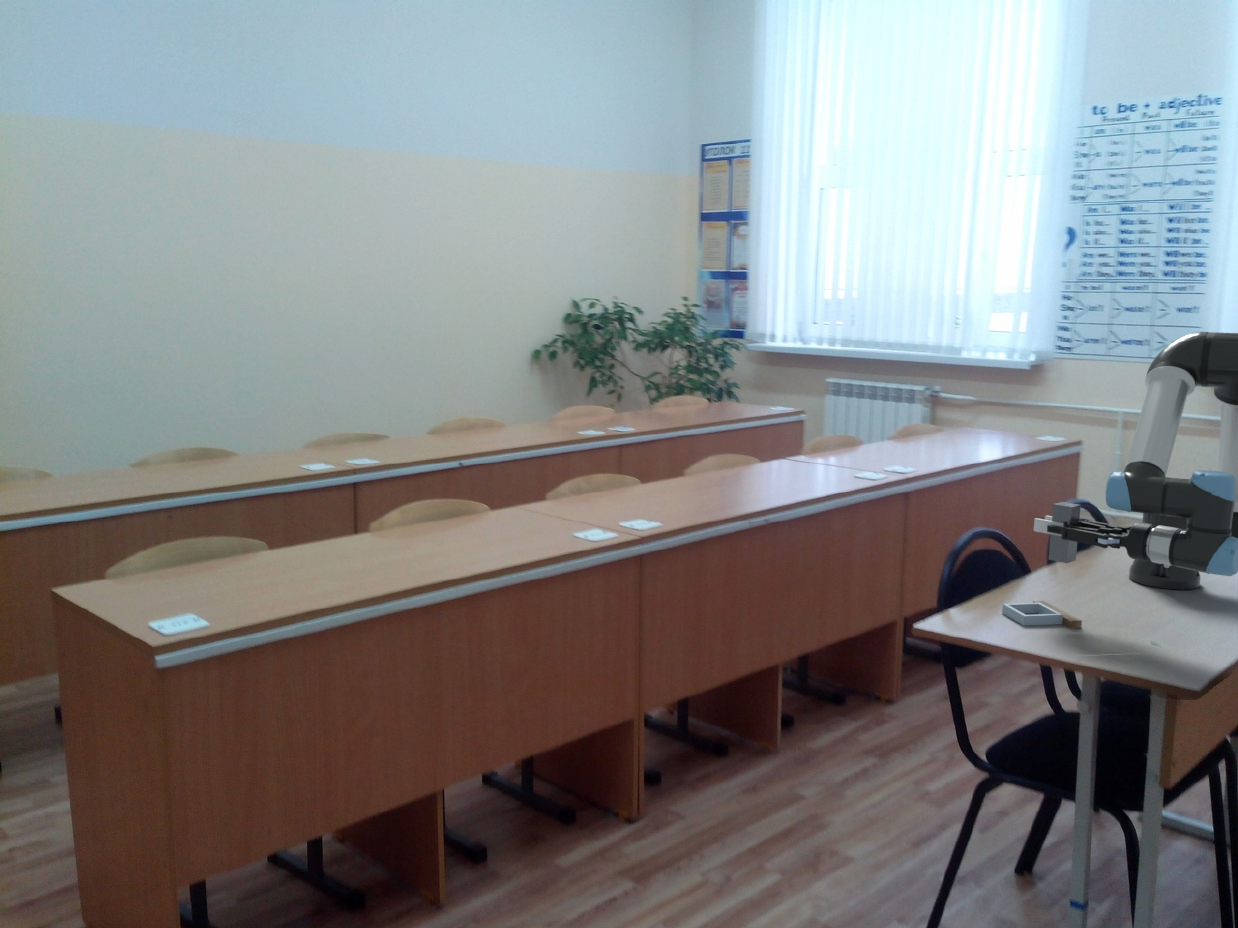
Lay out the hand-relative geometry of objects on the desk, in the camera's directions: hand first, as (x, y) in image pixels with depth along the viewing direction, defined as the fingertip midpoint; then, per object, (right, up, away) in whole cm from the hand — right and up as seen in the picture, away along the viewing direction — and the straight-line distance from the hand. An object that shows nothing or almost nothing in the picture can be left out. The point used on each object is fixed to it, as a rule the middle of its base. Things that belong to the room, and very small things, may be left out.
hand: (1040, 523), depth 225 cm
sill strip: (+2, -20, -4) cm, 20 cm away
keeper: (-4, -20, -5) cm, 21 cm away
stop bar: (+3, -8, -3) cm, 9 cm away
